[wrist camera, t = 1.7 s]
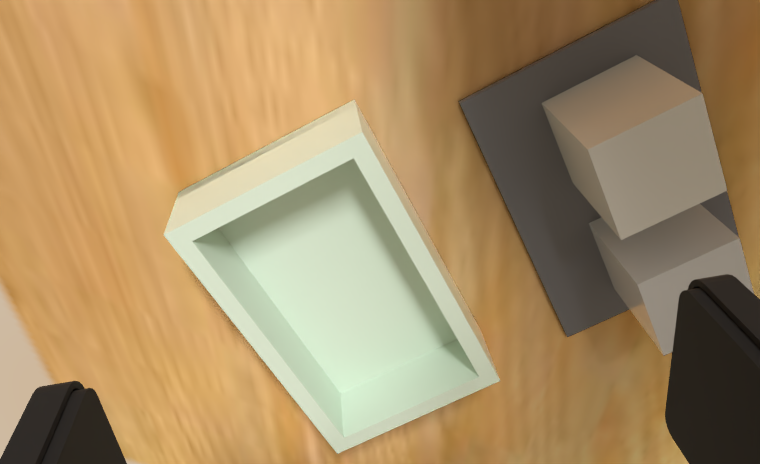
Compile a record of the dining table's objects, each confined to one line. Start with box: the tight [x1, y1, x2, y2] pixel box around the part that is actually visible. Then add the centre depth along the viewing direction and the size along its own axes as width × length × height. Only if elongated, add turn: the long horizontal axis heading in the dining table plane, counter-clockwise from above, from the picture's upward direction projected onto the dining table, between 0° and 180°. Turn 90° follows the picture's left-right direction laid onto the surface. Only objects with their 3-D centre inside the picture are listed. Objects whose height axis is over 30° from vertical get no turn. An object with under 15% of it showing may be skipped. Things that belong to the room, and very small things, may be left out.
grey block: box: [589, 204, 754, 356], centre depth 32 cm, size 4×4×6 cm
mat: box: [459, 0, 739, 337], centre depth 33 cm, size 10×15×1 cm, turn 27°
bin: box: [164, 99, 500, 454], centre depth 32 cm, size 9×15×4 cm, turn 27°
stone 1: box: [542, 55, 727, 240], centre depth 28 cm, size 4×4×6 cm
